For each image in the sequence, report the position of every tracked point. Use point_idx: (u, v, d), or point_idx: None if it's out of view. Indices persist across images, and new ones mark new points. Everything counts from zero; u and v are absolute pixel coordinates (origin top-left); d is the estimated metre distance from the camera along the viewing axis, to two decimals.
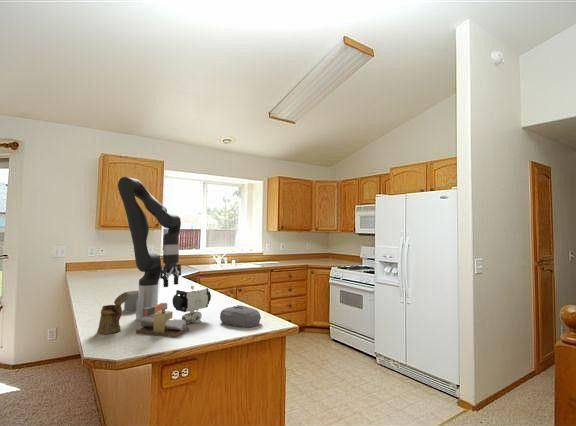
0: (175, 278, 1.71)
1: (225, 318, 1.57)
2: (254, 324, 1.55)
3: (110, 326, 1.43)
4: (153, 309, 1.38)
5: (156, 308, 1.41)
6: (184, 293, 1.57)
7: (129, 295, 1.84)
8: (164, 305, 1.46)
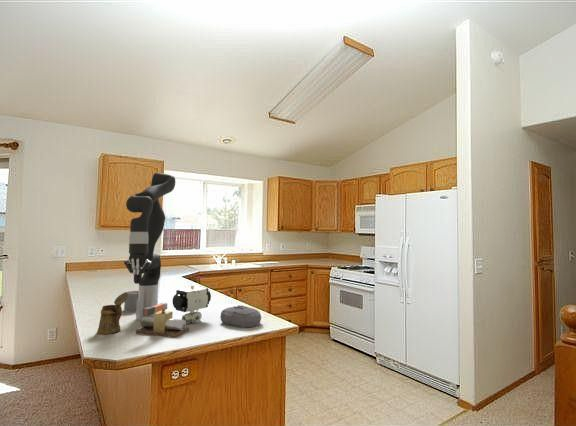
0: None
1: (225, 318, 1.57)
2: (255, 324, 1.55)
3: (110, 326, 1.43)
4: (153, 309, 1.38)
5: (156, 308, 1.41)
6: (184, 293, 1.57)
7: (129, 295, 1.84)
8: (164, 305, 1.46)
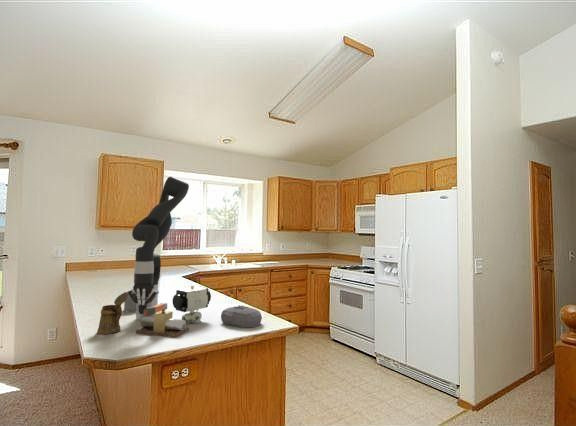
0: None
1: (226, 318, 1.57)
2: (255, 324, 1.55)
3: (110, 326, 1.43)
4: (153, 309, 1.38)
5: (156, 308, 1.41)
6: (184, 293, 1.57)
7: None
8: (164, 305, 1.46)
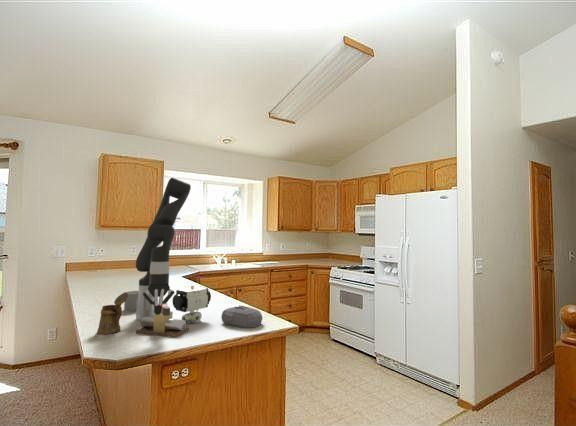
0: None
1: (227, 319, 1.56)
2: (256, 325, 1.54)
3: (110, 326, 1.43)
4: None
5: None
6: (184, 293, 1.57)
7: (129, 295, 1.84)
8: (166, 305, 1.47)
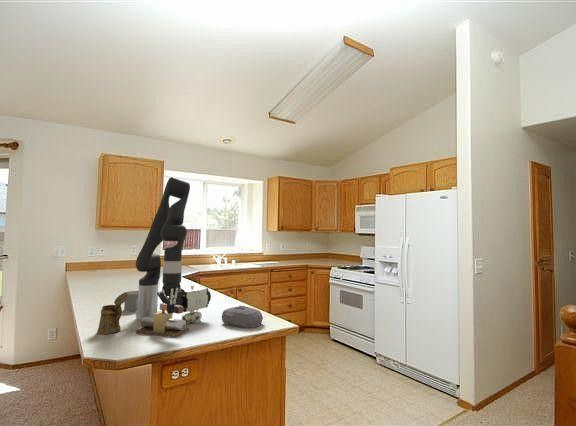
0: None
1: (227, 319, 1.56)
2: (256, 325, 1.54)
3: (110, 326, 1.43)
4: None
5: None
6: (184, 293, 1.57)
7: (129, 295, 1.84)
8: None
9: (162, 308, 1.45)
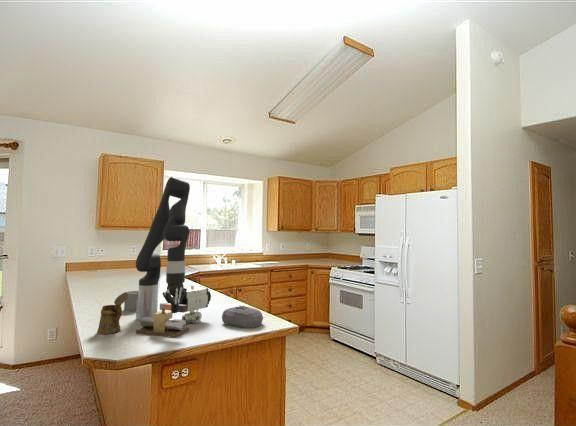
0: None
1: (227, 319, 1.56)
2: (256, 325, 1.54)
3: (110, 326, 1.43)
4: None
5: None
6: None
7: (129, 295, 1.84)
8: None
9: (163, 308, 1.45)
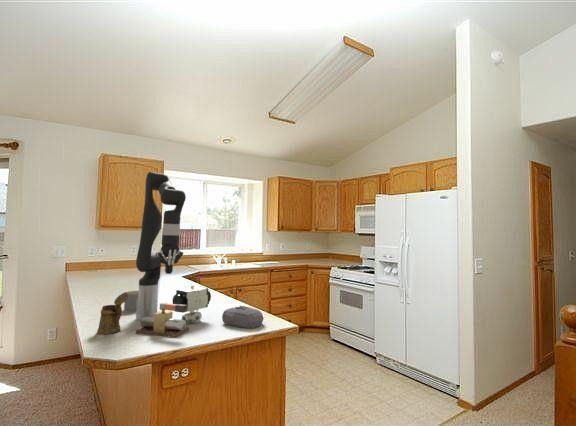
0: None
1: (227, 319, 1.56)
2: (257, 325, 1.54)
3: (110, 326, 1.43)
4: None
5: None
6: (184, 293, 1.57)
7: (129, 295, 1.84)
8: None
9: (163, 308, 1.45)
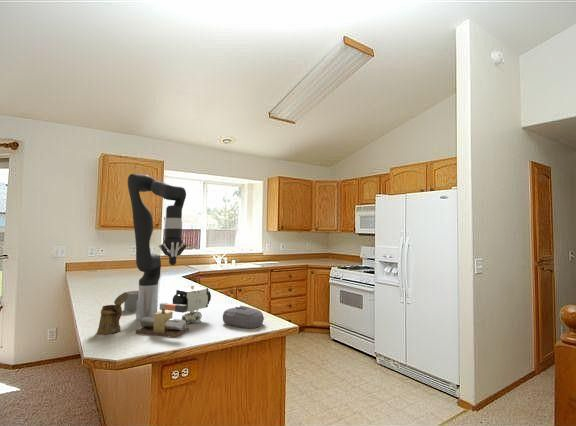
0: None
1: (228, 319, 1.56)
2: (257, 325, 1.54)
3: (110, 326, 1.43)
4: None
5: None
6: (184, 293, 1.57)
7: (129, 295, 1.84)
8: None
9: (163, 308, 1.45)
